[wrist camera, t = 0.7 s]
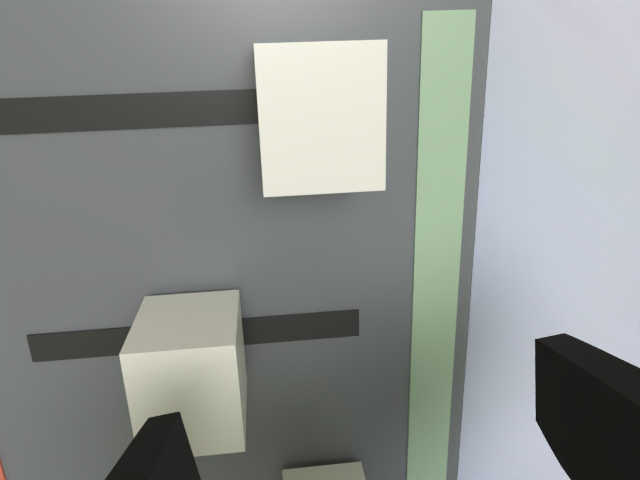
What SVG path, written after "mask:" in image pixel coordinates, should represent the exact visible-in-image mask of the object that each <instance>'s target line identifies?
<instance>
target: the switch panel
mask: <svg viewBox="0 0 640 480" xmlns="http://www.w3.org/2000/svg"><path fill="white" fill-rule="evenodd" d="M491 9H492V0H0V480H105V478H106V477H107V476H108V474H109V473H110V471H111V470H112V468H113V467H114V466H115V464H116V463H117V461H118V460H119V459H120V457H121V456H122V454H123V453H124V451H125V450H126V449H127V447H128V446H129V444H130V443H131V441H132V440H133V439H134V436H133V430H132V425H131V419H130V413H129V408H128V402H127V397H126V391H125V385H124V380H123V374H122V369H121V363H120V357H119V354H120V351H121V349H122V347H123V345H124V342H125V340H126V338H127V335H128V333H129V331H130V329H131V326H132V324H133V322H134V320H135V317H136V315H137V313H138V311H139V308H140V306H141V304H142V301H143V299H144V297H145V296H156V295H170V294H184V293H198V292H212V291H225V290H239V293H240V305H241V316H242V327H243V339H244V350H245V362H246V373H247V406H246V444H245V452H237V453H227V454H217V455H207V456H197V457H194V459H195V462H196V465H197V469H198V472H199V475H200V478H201V480H283V478H282V470H284V469H293V468H303V467H313V466H322V465H332V464H342V463H351V462H361V463H362V467H363V471H364V475H365V479H366V480H457V474H458V460H459V447H460V433H461V419H462V405H463V392H464V378H465V364H466V351H467V337H468V323H469V310H470V296H471V282H472V269H473V255H474V241H475V228H476V214H477V200H478V187H479V173H480V159H481V145H482V132H483V118H484V104H485V91H486V77H487V63H488V50H489V36H490V22H491ZM383 39H387V112H386V188H385V190H384V191H366V192H348V193H331V194H313V195H295V196H278V197H264V196H263V181H262V166H261V151H260V136H259V121H258V106H257V90H256V75H255V60H254V45H253V43H284V42H317V41H350V40H383Z"/></svg>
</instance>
